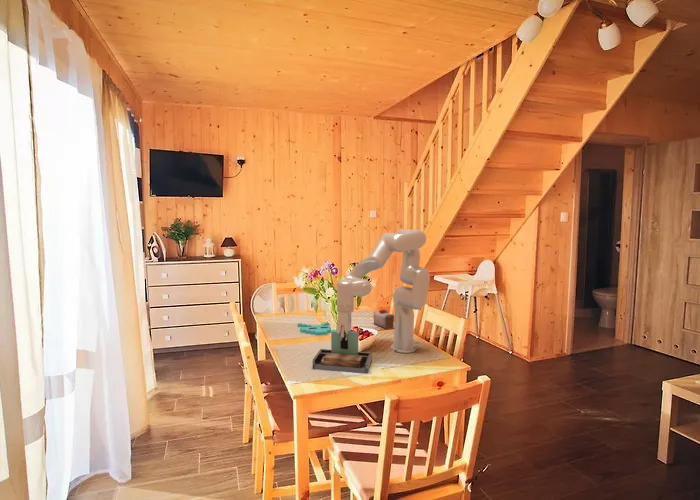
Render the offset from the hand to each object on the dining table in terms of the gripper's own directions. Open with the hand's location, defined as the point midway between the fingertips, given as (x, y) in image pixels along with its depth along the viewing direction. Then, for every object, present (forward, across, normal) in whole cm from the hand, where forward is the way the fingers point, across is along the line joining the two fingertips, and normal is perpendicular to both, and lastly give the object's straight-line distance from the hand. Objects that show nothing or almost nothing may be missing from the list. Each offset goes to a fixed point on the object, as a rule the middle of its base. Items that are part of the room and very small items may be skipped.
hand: (344, 347), depth 194 cm
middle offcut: (+5, +6, -1) cm, 8 cm away
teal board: (+7, 0, 0) cm, 7 cm away
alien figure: (+8, -47, -25) cm, 54 cm away
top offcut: (+3, +7, +1) cm, 7 cm away
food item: (+8, -62, +11) cm, 63 cm away
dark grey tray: (+8, +4, 0) cm, 9 cm away
